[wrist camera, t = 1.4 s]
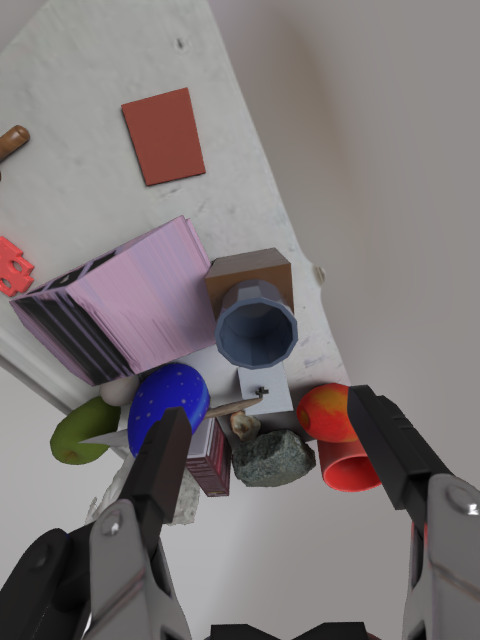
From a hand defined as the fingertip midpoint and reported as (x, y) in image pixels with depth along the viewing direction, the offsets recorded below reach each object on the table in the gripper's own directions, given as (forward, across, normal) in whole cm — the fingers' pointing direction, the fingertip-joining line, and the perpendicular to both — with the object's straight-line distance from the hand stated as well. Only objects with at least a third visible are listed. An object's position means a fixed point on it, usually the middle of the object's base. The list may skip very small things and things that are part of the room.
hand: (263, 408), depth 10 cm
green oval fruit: (+22, +30, +18) cm, 41 cm away
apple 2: (+15, -5, +21) cm, 26 cm away
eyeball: (+19, +25, +10) cm, 33 cm away
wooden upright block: (+22, 0, 0) cm, 22 cm away
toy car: (+22, +16, 0) cm, 27 cm away
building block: (+22, +33, -8) cm, 41 cm away
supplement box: (+17, +14, +23) cm, 32 cm away
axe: (+12, +12, +14) cm, 22 cm away
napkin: (+22, +6, -17) cm, 28 cm away
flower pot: (+22, -12, +33) cm, 41 cm away
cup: (+12, 0, 0) cm, 12 cm away
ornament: (+22, +15, +14) cm, 30 cm away
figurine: (+19, 0, +18) cm, 26 cm away
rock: (+19, +6, +40) cm, 45 cm away
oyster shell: (+18, +8, +29) cm, 35 cm away
